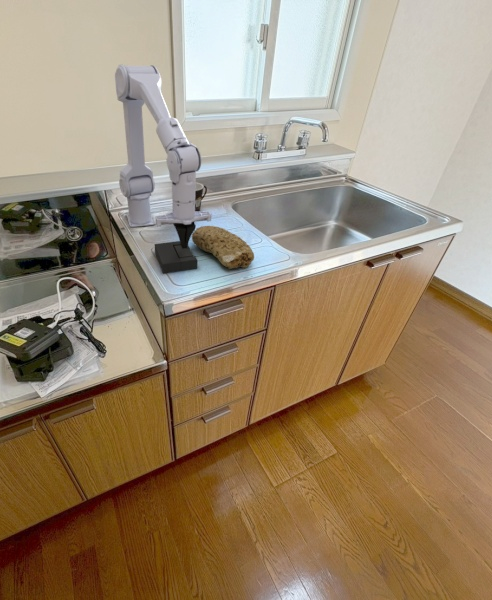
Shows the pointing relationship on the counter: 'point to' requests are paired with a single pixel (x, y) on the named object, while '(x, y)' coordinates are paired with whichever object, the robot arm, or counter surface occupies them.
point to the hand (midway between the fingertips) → (183, 246)
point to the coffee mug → (199, 195)
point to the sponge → (223, 246)
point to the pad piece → (183, 251)
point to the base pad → (173, 258)
